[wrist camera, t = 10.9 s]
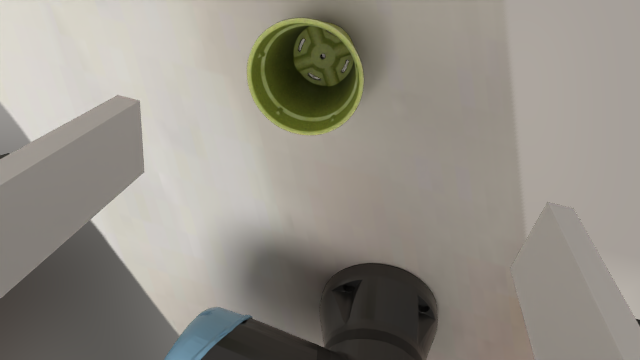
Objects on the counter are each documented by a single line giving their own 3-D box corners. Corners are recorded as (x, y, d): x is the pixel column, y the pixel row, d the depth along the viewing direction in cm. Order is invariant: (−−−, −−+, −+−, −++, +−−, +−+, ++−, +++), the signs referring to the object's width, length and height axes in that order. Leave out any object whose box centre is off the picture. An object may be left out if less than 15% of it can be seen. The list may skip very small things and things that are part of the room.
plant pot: (295, -16, 38) (266, -4, 30) (390, 28, 38) (383, 51, 31) (265, 77, 43) (233, 107, 35) (349, 115, 43) (335, 153, 36)
